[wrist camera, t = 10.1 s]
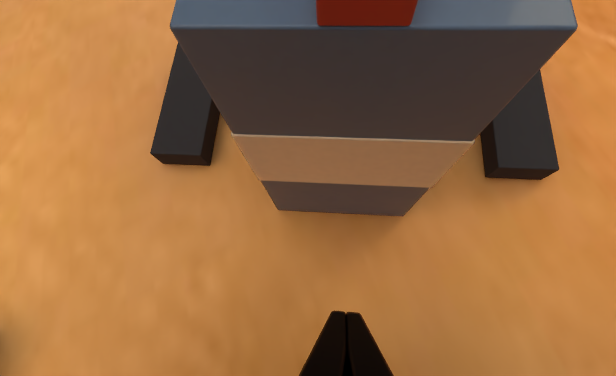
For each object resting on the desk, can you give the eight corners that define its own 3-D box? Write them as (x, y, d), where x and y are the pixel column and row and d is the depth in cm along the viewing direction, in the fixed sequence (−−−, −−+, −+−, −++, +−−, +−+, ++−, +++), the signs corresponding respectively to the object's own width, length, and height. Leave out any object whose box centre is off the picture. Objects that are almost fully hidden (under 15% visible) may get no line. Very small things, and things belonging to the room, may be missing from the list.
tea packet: (404, 217, 17) (641, -30, 4) (276, 211, 18) (131, -24, 5) (398, 18, 22) (504, -405, 9) (296, 18, 22) (249, -379, 9)
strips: (541, 179, 18) (560, 169, 16) (162, 163, 19) (149, 153, 18) (520, 61, 20) (535, 44, 19) (187, 57, 22) (177, 41, 21)
